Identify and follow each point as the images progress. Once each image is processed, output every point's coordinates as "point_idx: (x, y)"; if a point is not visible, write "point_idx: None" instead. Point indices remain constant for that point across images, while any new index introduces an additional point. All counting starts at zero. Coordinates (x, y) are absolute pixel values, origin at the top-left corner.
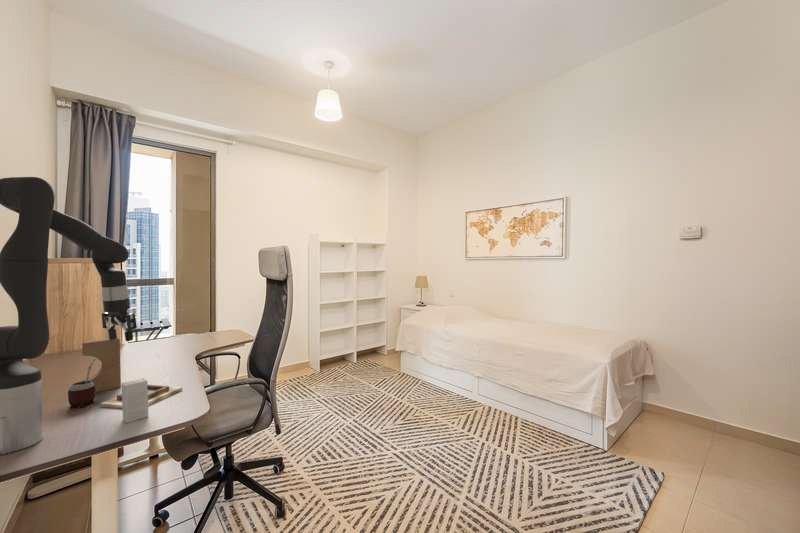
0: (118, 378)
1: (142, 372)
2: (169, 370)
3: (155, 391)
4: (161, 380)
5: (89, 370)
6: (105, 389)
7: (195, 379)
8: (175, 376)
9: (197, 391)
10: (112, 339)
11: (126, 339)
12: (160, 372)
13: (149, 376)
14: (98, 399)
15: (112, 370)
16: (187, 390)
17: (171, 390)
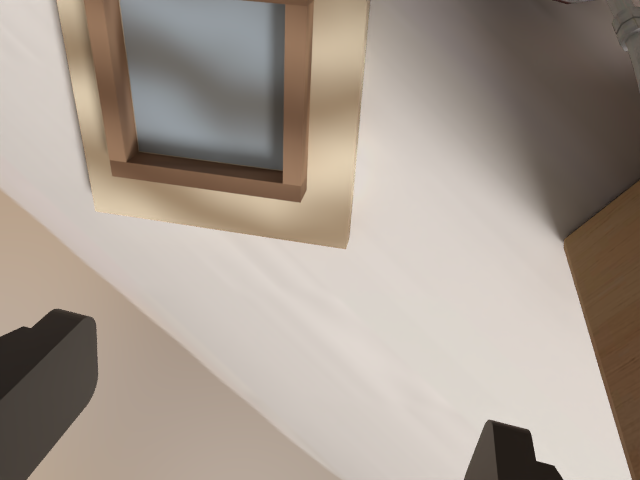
0: (581, 271)
1: None
2: None
3: (103, 83)
4: (376, 341)
5: (615, 9)
6: (633, 187)
7: (187, 345)
8: (346, 392)
9: (7, 187)
10: (482, 436)
11: (39, 324)
12: None
13: (518, 403)
14: (534, 22)
15: (629, 293)
16: (74, 199)
17: (103, 158)
